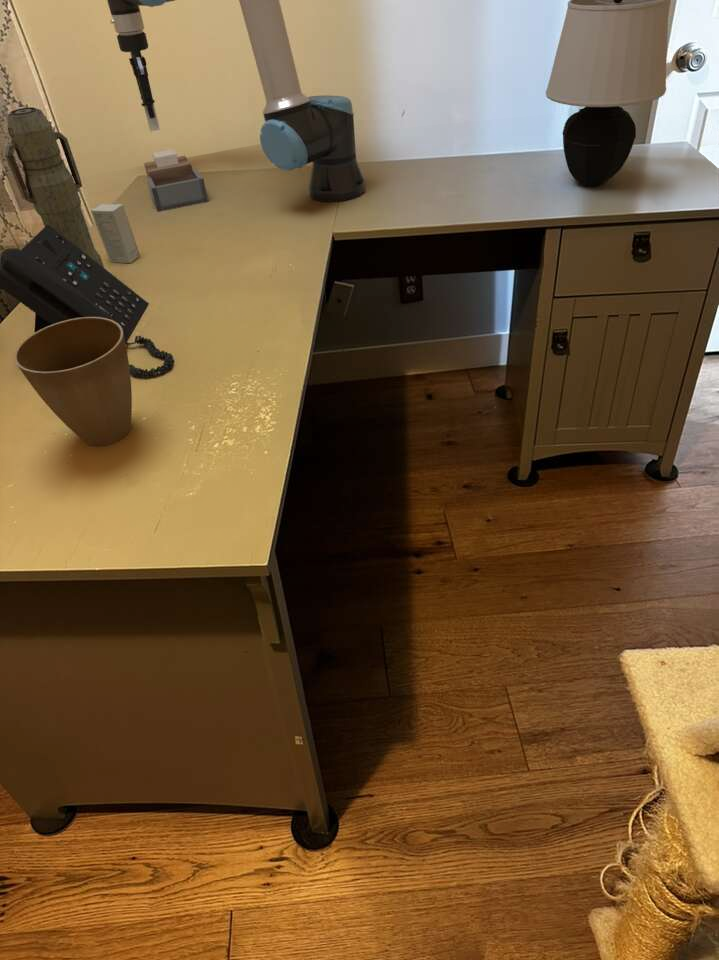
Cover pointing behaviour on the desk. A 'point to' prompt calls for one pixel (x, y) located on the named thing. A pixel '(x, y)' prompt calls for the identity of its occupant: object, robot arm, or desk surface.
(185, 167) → the brown block
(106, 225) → the skincare box
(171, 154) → the cream tile
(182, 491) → the desk surface
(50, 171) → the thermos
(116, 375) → the plant pot
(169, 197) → the box
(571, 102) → the table lamp
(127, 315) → the office phone
